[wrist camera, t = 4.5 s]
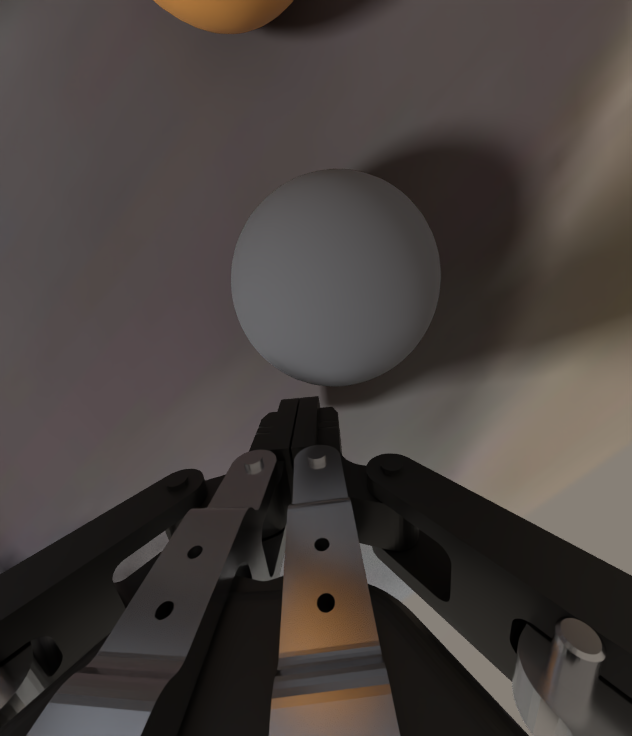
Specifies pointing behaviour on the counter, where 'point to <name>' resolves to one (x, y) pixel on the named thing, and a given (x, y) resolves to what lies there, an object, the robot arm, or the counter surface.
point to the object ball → (225, 13)
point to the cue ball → (335, 277)
